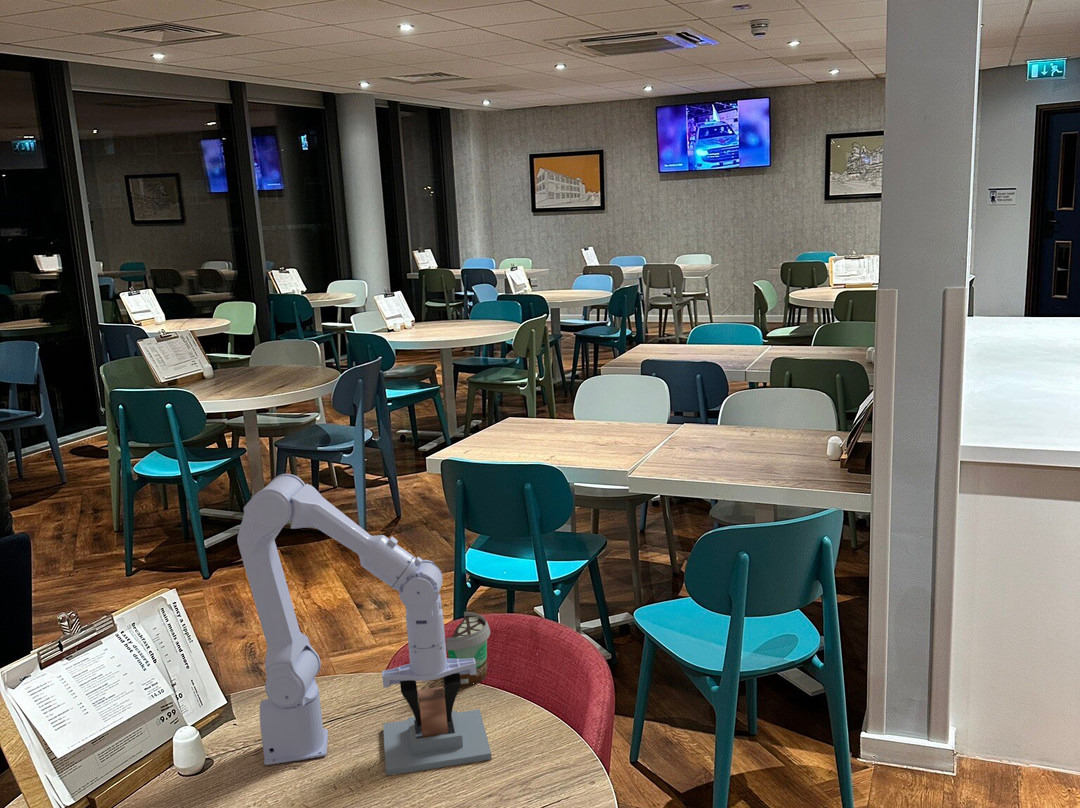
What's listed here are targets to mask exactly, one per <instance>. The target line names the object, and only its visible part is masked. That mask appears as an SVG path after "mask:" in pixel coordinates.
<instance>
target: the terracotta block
mask: <svg viewBox="0 0 1080 808" xmlns="http://www.w3.org/2000/svg"><path fill="white" fill-rule="evenodd" d="M417 693H418V705H419V710H420V717H421V729H422V737H429V736H436V735H442V734H448V726H447V714H446V702H445V690H444V686H436V687H431V688H424V689H422V688H421V689H417Z"/></svg>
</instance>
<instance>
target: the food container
mask: <svg viewBox="0 0 1080 808" xmlns="http://www.w3.org/2000/svg"><path fill="white" fill-rule="evenodd" d="M463 616H464V617H463V619H462V621H461V622H460V623H459V624H458V625H457V626H456V628H455V630H454V631H453V634H452V635H451V637H445V640H446V641H445V645H446V651H447V654H448V655H447V656H448V659H470V658H474V659H475V662H476V672H477V674H476V675H470V674H463V675H460V680H461V686H460V689H463V688H468V687H473V686H476V685H478V684H480V683H482V682H483V681H484V680H485V679H486V678H487V676H488V673H487V672H488V659H487V658H488V639H489V637H491V636H490V635H491V629H490V626H489V623H488V621H487V619H486V618H485V617H484V616H483V615H481V614H478V613H475V612H470V611H464V612H463ZM473 683H474V684H473Z"/></svg>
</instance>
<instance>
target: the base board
mask: <svg viewBox="0 0 1080 808" xmlns="http://www.w3.org/2000/svg"><path fill="white" fill-rule="evenodd" d="M382 725H383V726H382V727H383V744H384V745H383V747H384V748H383V749H384V763H385V764H384V765H385V776H386V775H390V776H394V775H393V774H396V775H401V774H400V773H402V774H406V773H408V772H409V773H414V772H420V771H421V772H422V771H426V770H427V771H428V770H432V769H438V768H439V769H440V768H445V767H452V766H456V765H463V764H471V763H477V762H482V761H489V760H490V761H491V760H493V759H492V751H491V747H490V744H489V740H488V736H487V735H488V734H487V732H486V728H485V723H484V721H483V716H482V713H481V709H473V710H472V709H471V710H466V711H459V712H458V710H452V715H451V722H447V726H448V734H442V735H436V736H429V737H422V729H421V726H419V727H417V723H416V719H415V716H411V717H407V719H405V720H399V721H392V722H385V723H383V724H382ZM409 773H408V774H409Z"/></svg>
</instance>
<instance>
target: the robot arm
mask: <svg viewBox="0 0 1080 808" xmlns="http://www.w3.org/2000/svg"><path fill="white" fill-rule="evenodd" d="M290 521H291V525H290V529H293V530H295V529H303V528H312V527H313V528H315V529H317V530H319V531H321V533H324V534H325V535H326V536H329V537H330V538H332V539H333V540H334V541H337V542H338V543H339V544H341V545H343V546H344V547H346V548H347V549H349V550H351V551H352V552H353V553H355V554H357V555H358V559H359V563H360V566H361V567H362V568H363V569H365V570H366V571H368V572H369V573H371V575H373V576H375V577H376V578H377V579H378V580H381V581H382V582H383V583H385V584H386V585H388V586H389V587H390V588H392V589H393V590H395V591H398V596H399V600H400V602H402V605H404V607H405V612H406V613H405V622H406V633H407V635H406V636H407V645H408V655H409V663H408V664H403V665H400V666H398V667H394V668H391V669H385V670H382V671H381V678H382V685H383V686H382V687H383V688H390V687H391V686H392V685H397V684H399V685H400V692H401V694H402V697H403V698H404V699H405V700H406V702H407V704H408V705H409V707H410V709H411V711H412V714H413V717H415V719H416V723H417V727H419V726H421V717H420V709H419V698H418V685H417V682H419V681H421V682H422V681H424V682H425V681H426V682H427V681H434V680H438V679H441V678H442V679H443V690H444V695H445V702H446V714H447V722H451V715H452V711H453V707H454V703H455V700H456V698H457V695H458V692H459V691H460V689H461V688H460V686H461V680H460V675H463V674H470V675H476V674H477V672H476V662H475V659H474V658H470V659H449V658H448V657H447V656H448V655H447V650H446V634H445V632H446V631H445V623H444V621H445V620H444V612H443V609H442V608H443V607H442V606H443V605H442V598H441V594H440V592H441V588H442V586H443V572H442V570H441V569H440V568H439V567H438V565H436V564H435V562H434V561H433V560H430V559H422V558H421V557H420V556H417V557H415V556H414V555H412V553H410V552H409V551H407V550H406V549H404V548H402V547H401V546H400V545H398V542H399V540H398V539H396V538H395V537H394V536H391V537H390V538H388V537H387V536H386V535H384V534H379V535H371V534H370V533H368V532H367V531H366V530H365V529H363V527H361V526H360V525H358V524H357V523H356V522H355V521H354V520H352V519H351V518H350V517H348V516H347V515H346V514H344V513H343V512H342V511H341V510H340V509H338V508H337V507H335V505H334V504H332V503H331V502H329V501H328V500H327V499H326V498H325V497H323V495H321V493H320V491H318V490H317V489H316V488H315V487H314V486H313V485H311V484H309V483H305V482H304V481H303V480H302V479H301V478H300V477H298V476H297V475H294V474H291V473H282V474H280V475H279V474H278V475H277V476H276V477H274V478H272V480H271V481H270V482H269V484H267V485H266V486H265V487H263V488H262V489H261V490H259V491H257V492H256V493H255V494H254V495H253V496H252V497H251V498H250V500H249V501H248V502H247V503H246V504H245V505H244V507H243V517H242V520H241V523H240V527H239V530H238V534H237V538H236V540H237V545H238V549H239V553H240V555H241V560H242V562H243V567H244V570H245V573H246V578H247V580H248V584H249V588H250V591H251V594H252V598H253V601H254V604H255V608H256V612H257V615H258V619H259V621H260V622H259V623H260V625H261V629H262V631H263V632H262V633H263V636H264V639H265V643H266V655H265V661H264V670H265V672H266V680H265V684H264V686H265V687H264V691H265V694H266V696H267V698H265V699H262V700H260V703H259V726H260V734H261V744H262V749H263V750H262V751H263V758H264V761H263V763H264V765H265V766H269V765H270V766H271V765H276V764H281V763H282V764H283V763H289V762H297V761H302V760H309V758H310V759H315V757H316V758H322V756H323V757H326V756H327V755H328V739H329V730H328V729H327V728H324V724H323V715H322V714H323V713H322V706H321V696H320V688H319V686H318V684H317V682H316V681H317V680H316V676H318V674H319V673H320V670H321V667H322V666H321V665H322V663H321V661H322V660H321V659H320V656H319V654H318V652H316V650H315V649H314V648H313V647H312V644H311V643H310V640H309V637H308V635H306V634H304V633H303V632H301V630H300V627H299V622H298V619H297V616H296V613H295V609H294V605H293V601H292V598H291V594H290V590H289V587H288V583H287V580H286V576H285V572H284V569H283V565H282V562H281V558H280V554H279V551H278V547H277V544H276V541H275V540H276V539H277V536H278V535H279V534H280V532H281V530H282V529H283V527H285V526H286V525H287V524H288V522H290Z"/></svg>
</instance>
